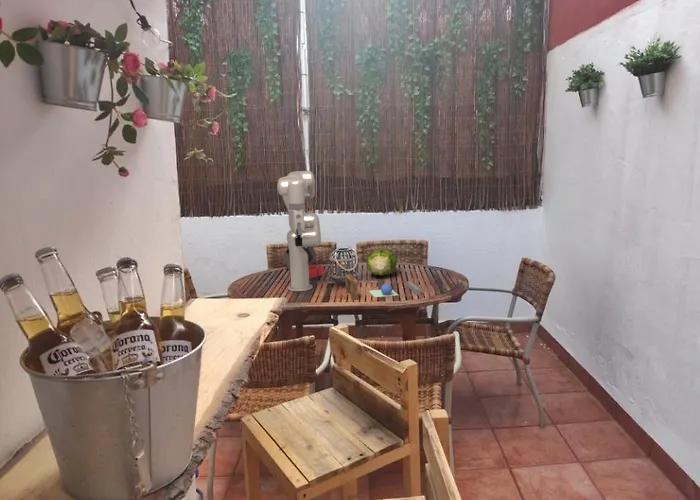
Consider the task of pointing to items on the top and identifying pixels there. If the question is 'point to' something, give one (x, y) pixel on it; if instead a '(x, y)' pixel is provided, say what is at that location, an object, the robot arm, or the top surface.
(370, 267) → the lettuce
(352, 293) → the bridge
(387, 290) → the ball
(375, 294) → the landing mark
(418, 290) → the wall
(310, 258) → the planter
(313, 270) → the tape dispenser
